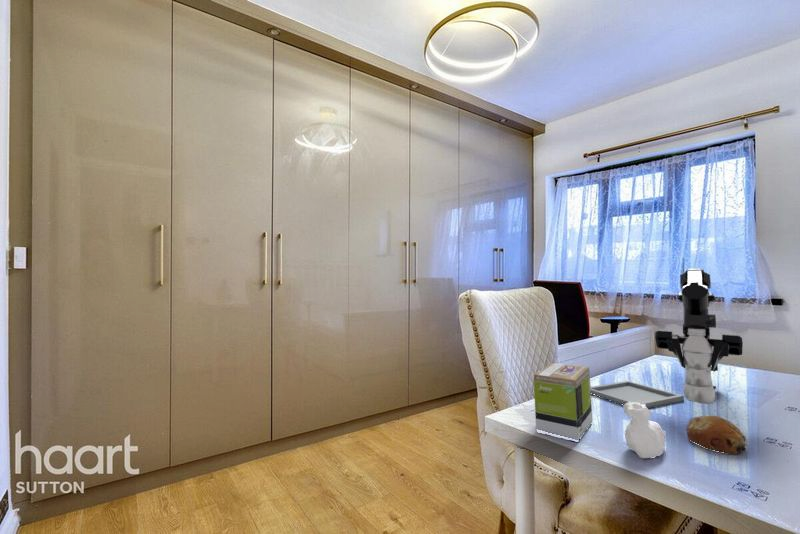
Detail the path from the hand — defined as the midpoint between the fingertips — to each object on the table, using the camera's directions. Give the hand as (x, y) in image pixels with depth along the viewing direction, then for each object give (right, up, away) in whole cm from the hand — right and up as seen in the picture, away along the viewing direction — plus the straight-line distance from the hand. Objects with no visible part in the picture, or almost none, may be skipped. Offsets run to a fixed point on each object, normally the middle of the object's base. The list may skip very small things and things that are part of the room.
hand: (697, 367), depth 97 cm
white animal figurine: (-27, -13, -18) cm, 35 cm away
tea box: (-38, -14, -6) cm, 41 cm away
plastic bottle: (+1, -10, +1) cm, 10 cm away
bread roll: (-9, -13, -16) cm, 22 cm away
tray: (-6, -14, +17) cm, 23 cm away
